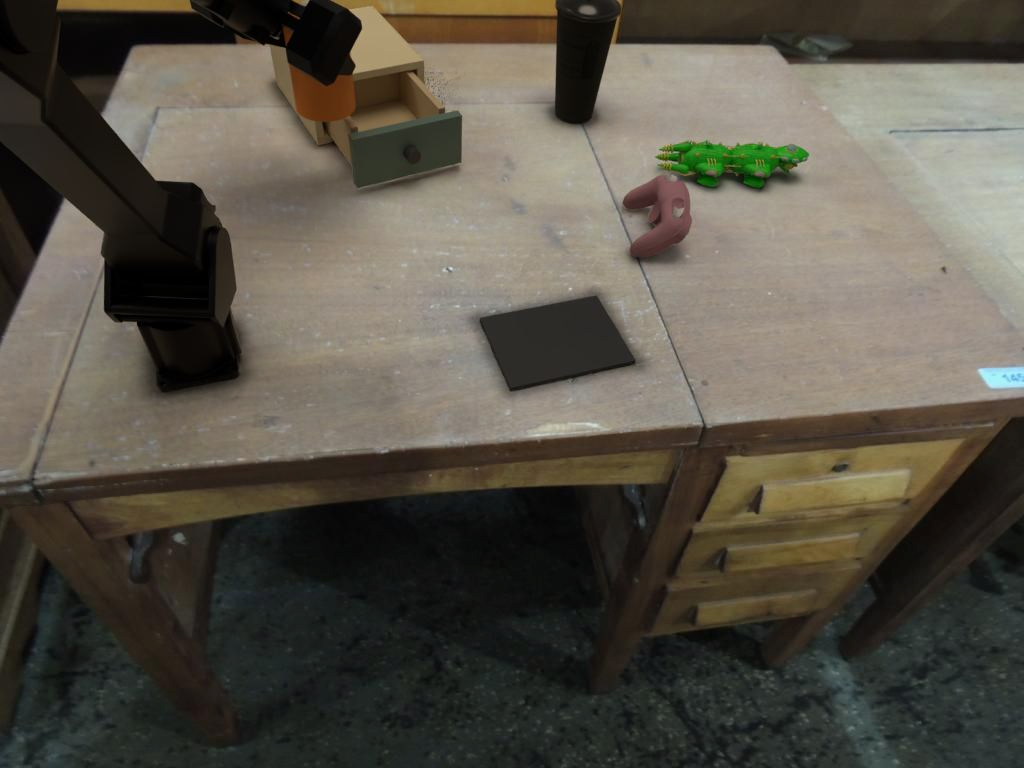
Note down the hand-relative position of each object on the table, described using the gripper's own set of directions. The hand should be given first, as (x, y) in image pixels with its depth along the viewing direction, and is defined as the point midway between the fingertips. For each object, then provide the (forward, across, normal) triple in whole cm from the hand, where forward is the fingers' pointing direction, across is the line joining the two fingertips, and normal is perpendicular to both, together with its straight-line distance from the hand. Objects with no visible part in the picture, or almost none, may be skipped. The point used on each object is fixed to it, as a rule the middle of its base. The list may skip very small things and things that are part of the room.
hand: (331, 58), depth 73 cm
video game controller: (+22, -30, -2) cm, 37 cm away
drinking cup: (+31, -9, -12) cm, 34 cm away
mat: (+7, -33, +12) cm, 36 cm away
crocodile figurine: (+33, -30, -14) cm, 47 cm away
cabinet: (+17, +12, +2) cm, 21 cm away
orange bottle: (+2, 0, +4) cm, 5 cm away
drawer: (+13, 0, +4) cm, 14 cm away
